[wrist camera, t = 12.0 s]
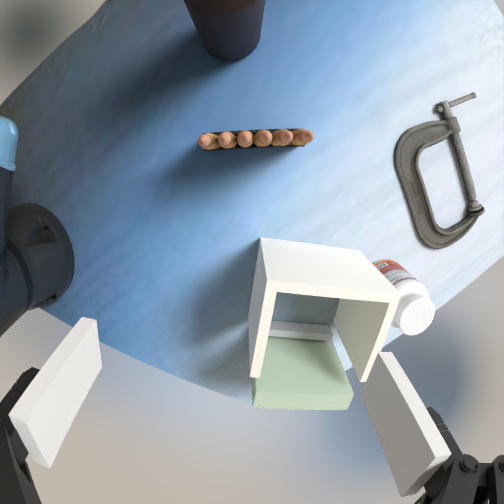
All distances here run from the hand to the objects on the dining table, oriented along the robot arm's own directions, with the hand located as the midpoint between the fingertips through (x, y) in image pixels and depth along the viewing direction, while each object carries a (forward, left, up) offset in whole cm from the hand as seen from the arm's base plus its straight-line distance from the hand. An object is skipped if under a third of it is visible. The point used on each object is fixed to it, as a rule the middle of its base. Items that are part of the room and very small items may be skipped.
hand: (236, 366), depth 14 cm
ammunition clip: (0, +10, -27) cm, 29 cm away
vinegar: (-4, +23, -27) cm, 35 cm away
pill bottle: (+20, -5, -27) cm, 34 cm away
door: (+9, -16, -27) cm, 32 cm away
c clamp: (+27, +12, -28) cm, 40 cm away
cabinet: (+9, -10, -27) cm, 30 cm away
